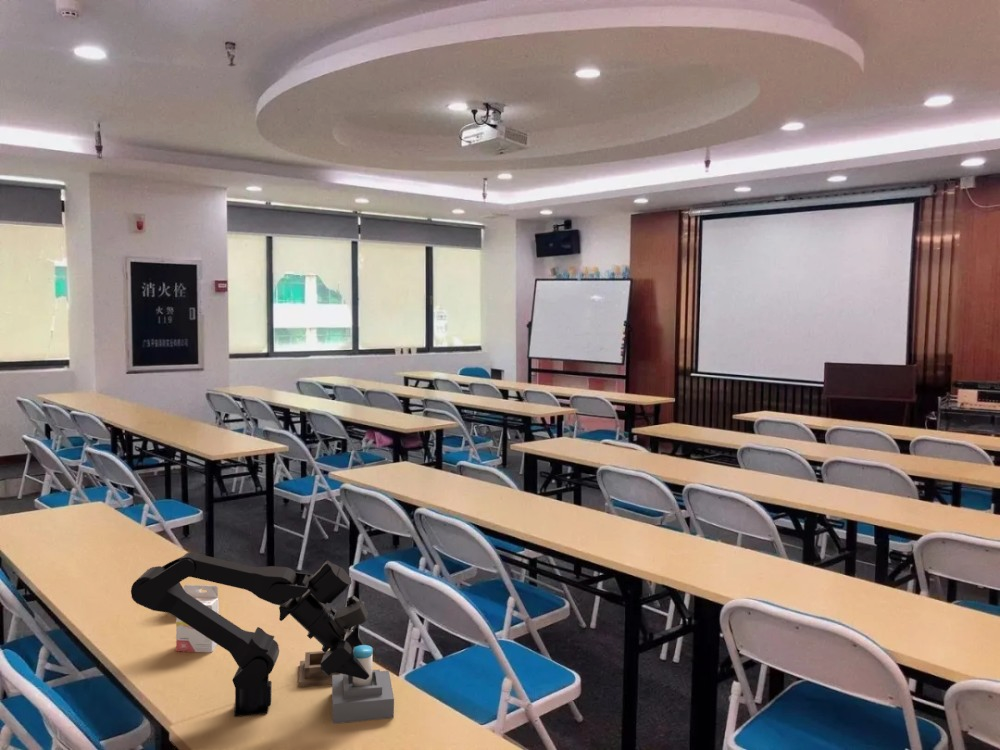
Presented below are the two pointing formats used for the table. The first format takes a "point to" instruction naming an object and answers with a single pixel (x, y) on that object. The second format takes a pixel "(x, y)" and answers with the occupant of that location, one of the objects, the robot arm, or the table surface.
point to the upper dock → (362, 698)
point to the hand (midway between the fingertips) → (369, 668)
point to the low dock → (313, 670)
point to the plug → (364, 664)
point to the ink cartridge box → (187, 635)
